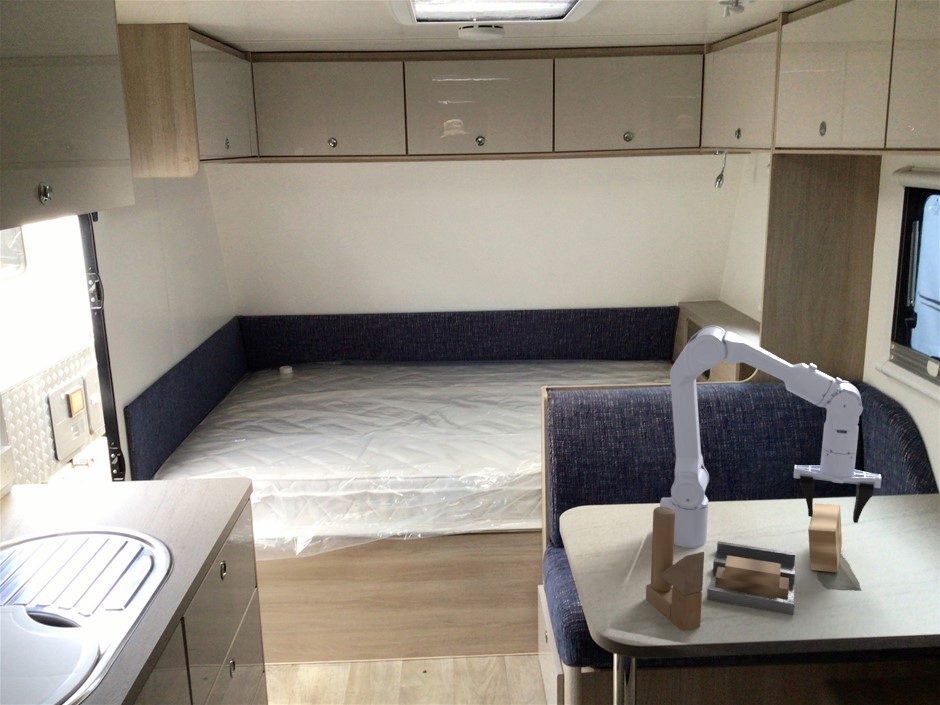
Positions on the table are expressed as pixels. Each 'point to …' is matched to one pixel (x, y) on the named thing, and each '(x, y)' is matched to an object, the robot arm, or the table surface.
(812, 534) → the oak board
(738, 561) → the walnut offcut upper
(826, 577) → the stone slab
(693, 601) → the wooden block
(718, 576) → the walnut offcut lower
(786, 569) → the rack
